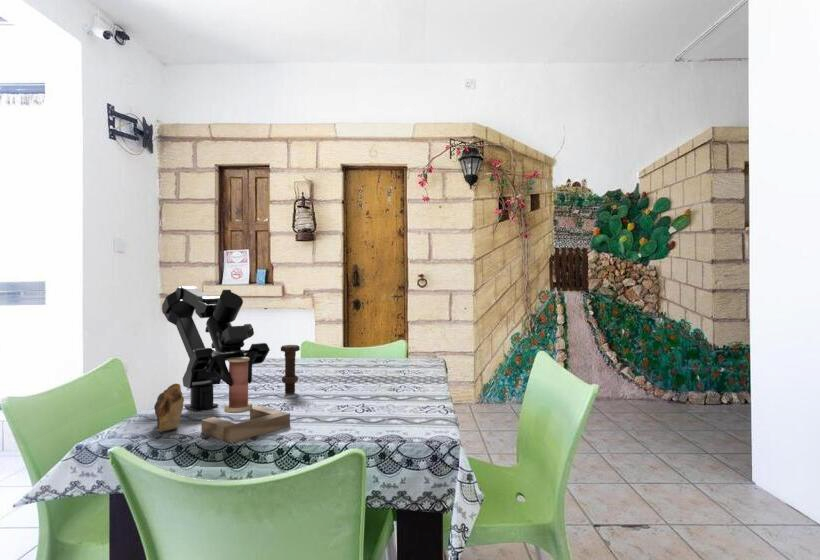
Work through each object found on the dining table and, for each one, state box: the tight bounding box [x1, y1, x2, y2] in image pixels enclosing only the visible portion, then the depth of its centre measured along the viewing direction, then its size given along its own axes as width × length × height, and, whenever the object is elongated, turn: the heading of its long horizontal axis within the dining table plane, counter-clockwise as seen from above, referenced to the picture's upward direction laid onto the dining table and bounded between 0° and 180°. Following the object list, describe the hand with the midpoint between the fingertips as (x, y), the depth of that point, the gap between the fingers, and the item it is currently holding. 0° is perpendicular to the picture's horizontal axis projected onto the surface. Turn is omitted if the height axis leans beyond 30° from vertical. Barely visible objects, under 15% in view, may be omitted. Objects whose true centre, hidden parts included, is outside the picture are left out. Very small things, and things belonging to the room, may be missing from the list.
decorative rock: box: [153, 383, 185, 432], centre depth 114 cm, size 12×6×11 cm, turn 31°
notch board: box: [201, 405, 291, 444], centre depth 114 cm, size 12×16×3 cm
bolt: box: [280, 344, 301, 395], centre depth 150 cm, size 6×5×15 cm
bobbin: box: [224, 357, 253, 414], centre depth 117 cm, size 6×6×12 cm
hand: (241, 383), depth 116 cm, fingers closed on bobbin, 4 cm apart
